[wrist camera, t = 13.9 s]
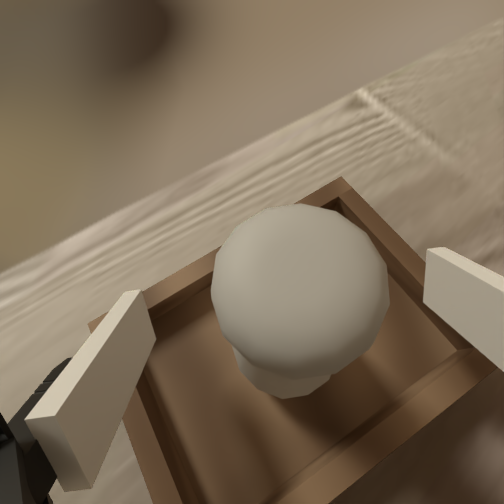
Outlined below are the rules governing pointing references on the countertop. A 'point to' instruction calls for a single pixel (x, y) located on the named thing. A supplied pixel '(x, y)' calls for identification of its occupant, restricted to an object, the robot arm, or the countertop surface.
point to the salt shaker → (298, 296)
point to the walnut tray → (290, 409)
